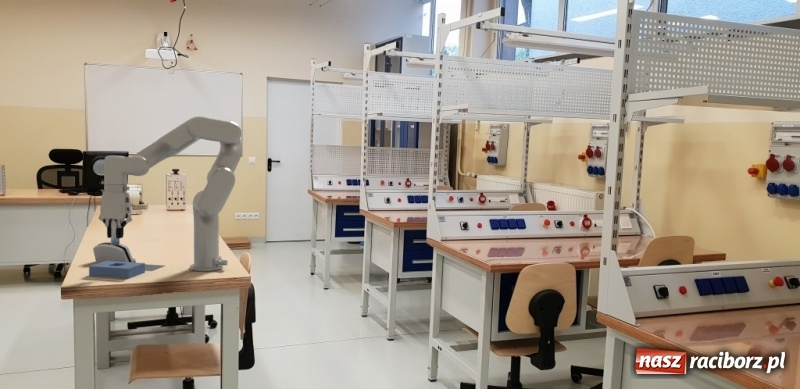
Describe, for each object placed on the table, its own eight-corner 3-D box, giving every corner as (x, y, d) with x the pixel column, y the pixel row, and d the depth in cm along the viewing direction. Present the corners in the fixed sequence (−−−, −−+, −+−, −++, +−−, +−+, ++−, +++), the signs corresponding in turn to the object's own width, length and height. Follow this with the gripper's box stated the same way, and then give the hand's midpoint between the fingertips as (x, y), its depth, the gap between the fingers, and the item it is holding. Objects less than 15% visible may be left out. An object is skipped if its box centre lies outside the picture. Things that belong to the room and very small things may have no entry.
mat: (166, 266, 231) (166, 265, 231) (151, 271, 222) (151, 271, 222) (134, 264, 233) (134, 263, 233) (118, 269, 224) (118, 268, 224)
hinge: (137, 262, 236) (130, 241, 232) (129, 268, 232) (122, 247, 228) (104, 259, 241) (98, 238, 237) (96, 265, 237) (89, 244, 233)
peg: (121, 243, 215) (121, 217, 214) (116, 245, 212) (116, 218, 211) (114, 243, 215) (114, 217, 215) (108, 244, 212) (109, 218, 212)
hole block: (144, 273, 219) (144, 263, 218) (128, 279, 209) (128, 268, 209) (106, 270, 221) (106, 260, 221) (89, 276, 211) (89, 266, 211)
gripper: (141, 189, 215) (141, 237, 216) (102, 187, 217) (101, 234, 218) (129, 190, 207) (129, 240, 209) (88, 188, 209) (88, 237, 211)
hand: (115, 237), depth 213 cm, fingers closed on peg, 3 cm apart
